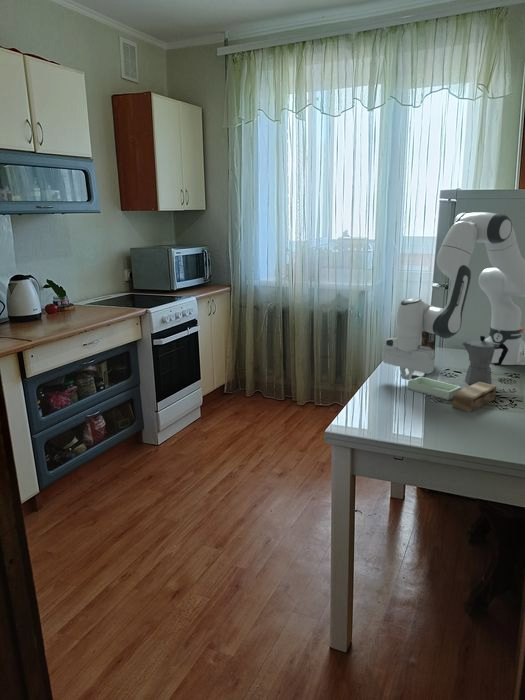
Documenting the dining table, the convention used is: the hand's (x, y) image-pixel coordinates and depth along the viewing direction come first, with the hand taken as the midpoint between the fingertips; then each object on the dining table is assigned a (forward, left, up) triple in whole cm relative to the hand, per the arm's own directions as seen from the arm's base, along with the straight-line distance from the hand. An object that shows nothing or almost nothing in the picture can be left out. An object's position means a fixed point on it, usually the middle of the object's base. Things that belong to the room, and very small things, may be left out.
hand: (406, 379), depth 189 cm
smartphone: (-15, -6, -3) cm, 16 cm away
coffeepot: (-21, +18, -2) cm, 28 cm away
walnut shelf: (0, +26, -2) cm, 26 cm away
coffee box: (-27, -11, -2) cm, 29 cm away
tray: (0, +11, -2) cm, 11 cm away
